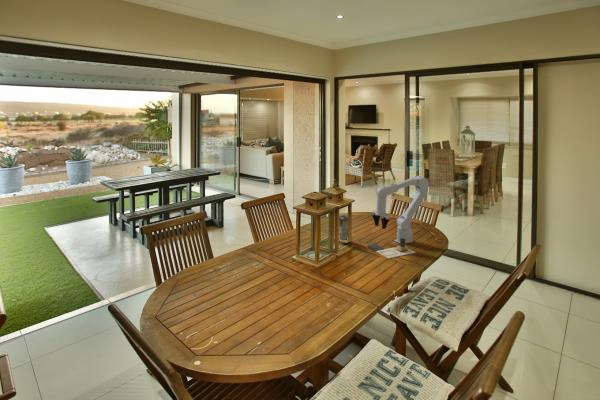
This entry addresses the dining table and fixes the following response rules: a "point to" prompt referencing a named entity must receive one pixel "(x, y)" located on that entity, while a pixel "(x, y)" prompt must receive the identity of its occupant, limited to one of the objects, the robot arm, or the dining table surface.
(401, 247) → the stamp
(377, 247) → the ink pad
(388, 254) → the paper card
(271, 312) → the dining table surface
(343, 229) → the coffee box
